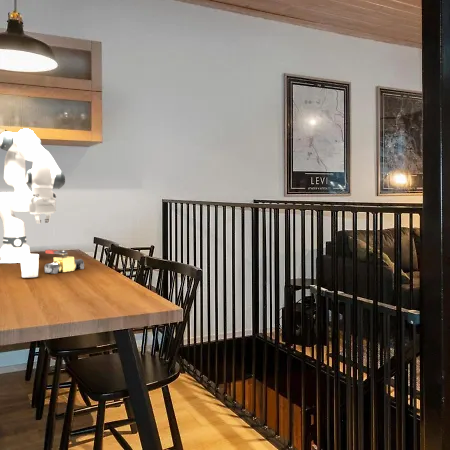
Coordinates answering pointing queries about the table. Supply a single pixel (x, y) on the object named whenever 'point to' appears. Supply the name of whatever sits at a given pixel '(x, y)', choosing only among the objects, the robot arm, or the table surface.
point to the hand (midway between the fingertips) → (43, 223)
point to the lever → (56, 252)
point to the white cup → (29, 265)
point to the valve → (64, 264)
